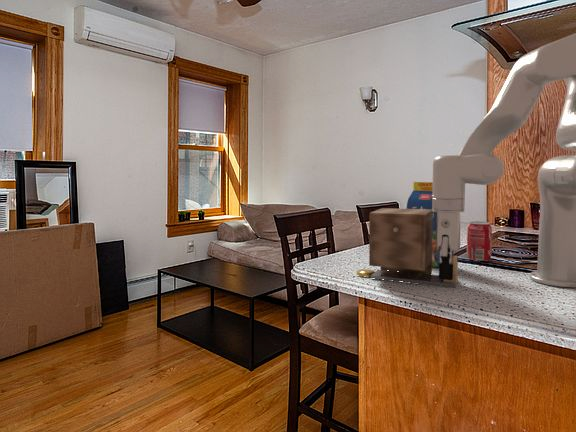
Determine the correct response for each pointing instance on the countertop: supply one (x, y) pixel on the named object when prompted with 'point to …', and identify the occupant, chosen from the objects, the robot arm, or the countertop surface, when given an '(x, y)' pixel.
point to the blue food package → (423, 200)
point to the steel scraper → (419, 276)
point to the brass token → (365, 272)
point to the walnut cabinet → (401, 240)
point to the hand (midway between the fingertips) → (446, 276)
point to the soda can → (479, 241)
